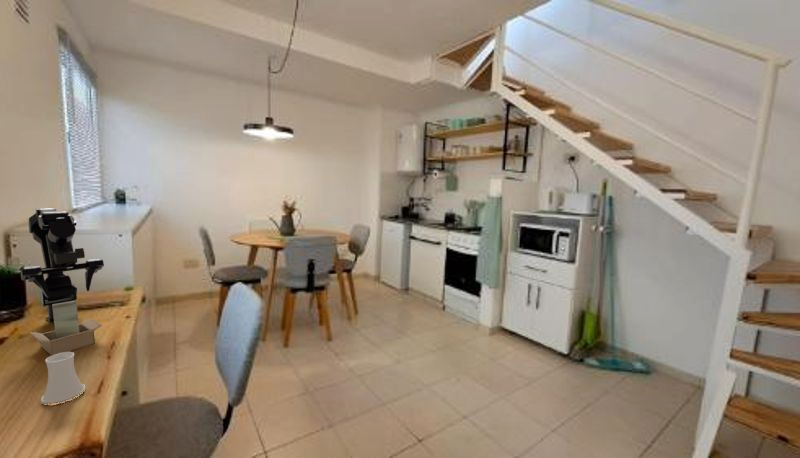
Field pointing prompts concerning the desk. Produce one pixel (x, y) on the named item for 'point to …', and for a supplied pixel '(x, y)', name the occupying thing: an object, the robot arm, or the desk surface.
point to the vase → (61, 379)
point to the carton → (68, 338)
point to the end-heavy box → (65, 319)
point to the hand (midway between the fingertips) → (69, 294)
